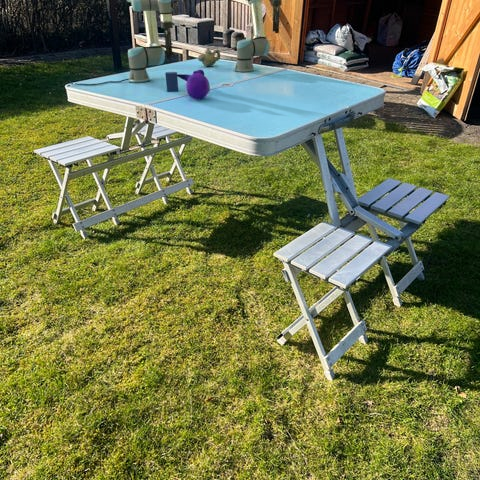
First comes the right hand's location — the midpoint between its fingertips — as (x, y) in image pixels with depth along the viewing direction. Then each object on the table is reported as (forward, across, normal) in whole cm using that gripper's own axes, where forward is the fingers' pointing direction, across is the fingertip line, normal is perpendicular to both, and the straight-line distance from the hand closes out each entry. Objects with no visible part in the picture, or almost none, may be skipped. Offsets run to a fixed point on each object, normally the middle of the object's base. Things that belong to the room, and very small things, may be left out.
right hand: (275, 32), depth 329 cm
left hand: (+9, +39, -76) cm, 86 cm away
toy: (+31, +61, -60) cm, 91 cm away
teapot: (+31, -55, -50) cm, 81 cm away
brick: (+31, +39, -75) cm, 91 cm away
